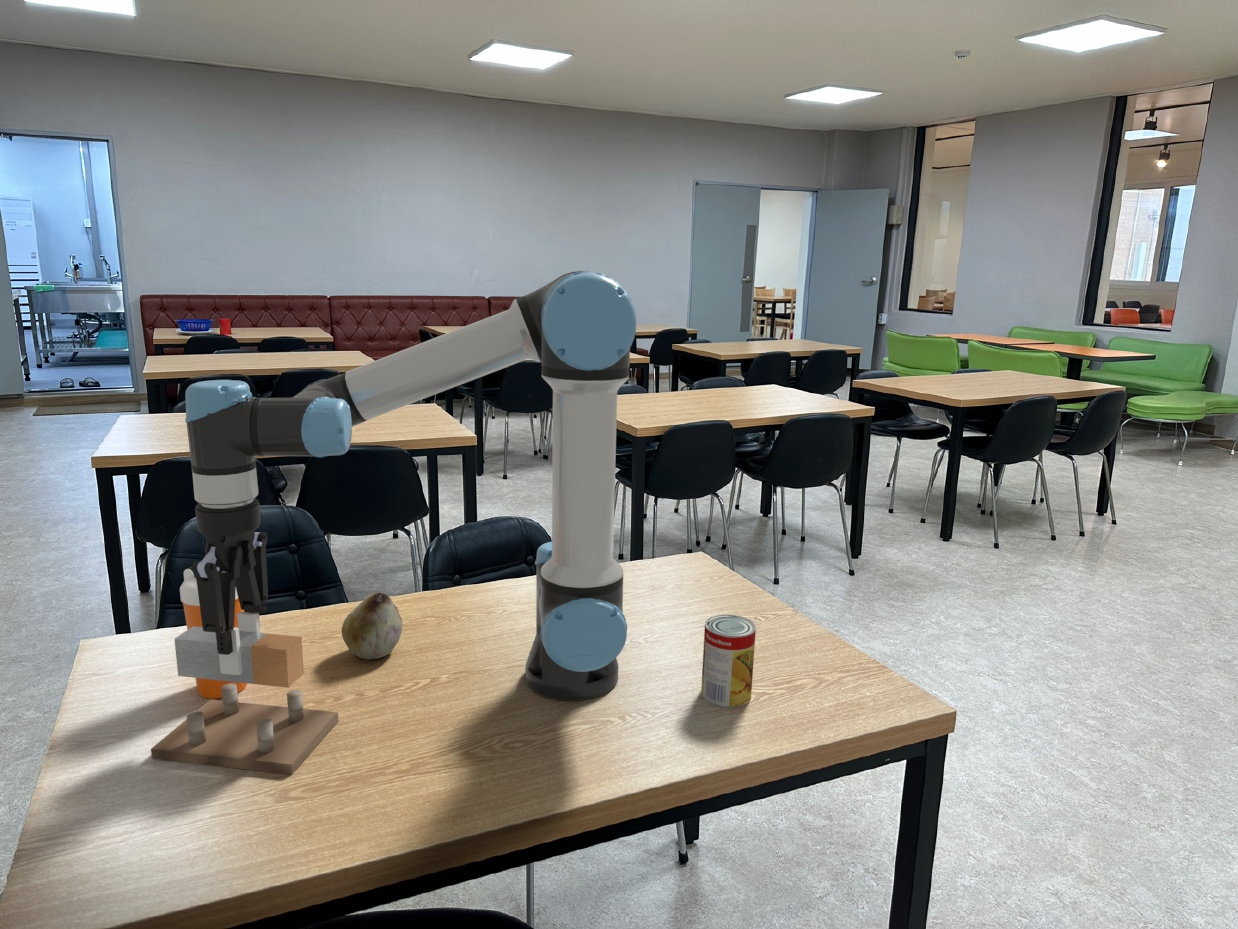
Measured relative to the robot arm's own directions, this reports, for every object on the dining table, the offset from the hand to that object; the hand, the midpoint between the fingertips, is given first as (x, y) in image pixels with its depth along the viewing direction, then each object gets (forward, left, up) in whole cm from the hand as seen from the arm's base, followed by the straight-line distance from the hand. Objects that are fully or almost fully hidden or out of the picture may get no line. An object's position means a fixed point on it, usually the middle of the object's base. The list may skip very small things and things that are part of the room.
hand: (241, 664), depth 113 cm
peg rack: (0, 0, -12) cm, 12 cm away
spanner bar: (0, 0, -2) cm, 2 cm away
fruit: (-6, -28, -12) cm, 31 cm away
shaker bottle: (+12, -13, -12) cm, 21 cm away
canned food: (-66, -25, -12) cm, 71 cm away
